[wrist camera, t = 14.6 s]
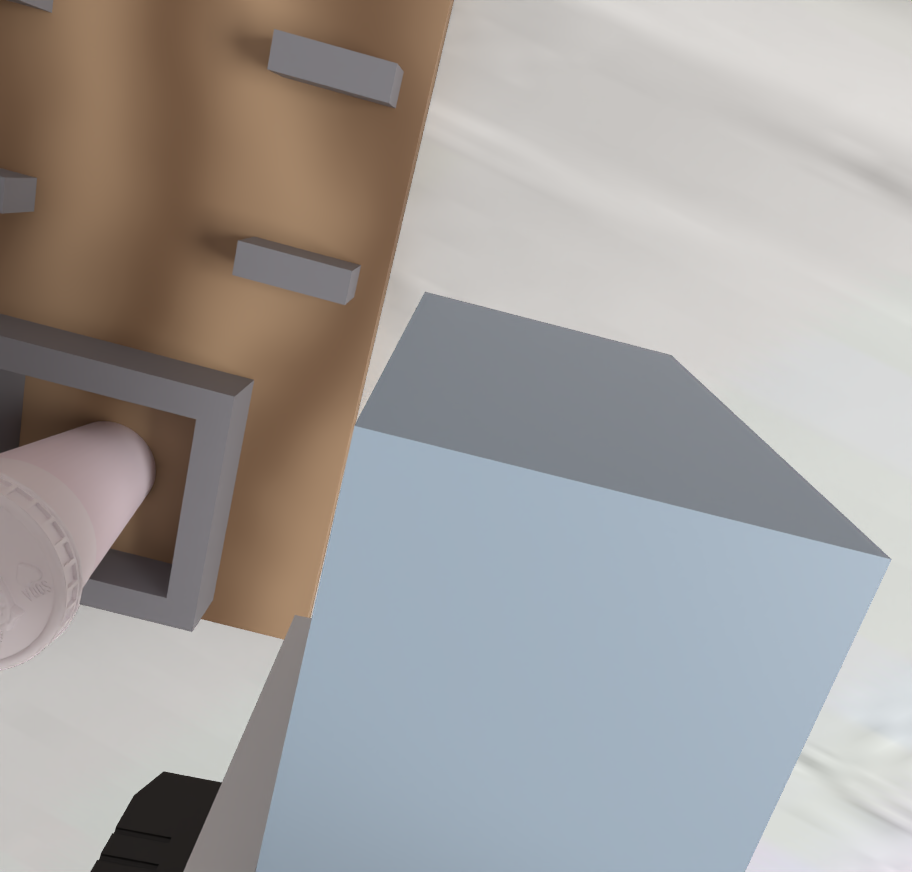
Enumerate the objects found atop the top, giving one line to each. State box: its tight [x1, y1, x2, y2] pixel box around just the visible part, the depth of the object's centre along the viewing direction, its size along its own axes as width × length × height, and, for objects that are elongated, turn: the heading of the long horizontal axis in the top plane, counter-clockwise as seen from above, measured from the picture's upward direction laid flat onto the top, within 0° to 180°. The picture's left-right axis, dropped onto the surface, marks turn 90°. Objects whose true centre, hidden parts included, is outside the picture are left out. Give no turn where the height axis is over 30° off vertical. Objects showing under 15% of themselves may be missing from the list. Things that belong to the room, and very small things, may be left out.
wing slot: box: [0, 0, 404, 305], centre depth 27 cm, size 16×8×2 cm, turn 75°
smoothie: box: [0, 421, 156, 670], centre depth 25 cm, size 6×6×14 cm
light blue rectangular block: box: [256, 292, 891, 872], centre depth 12 cm, size 14×4×8 cm, turn 166°
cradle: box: [0, 314, 254, 632], centre depth 31 cm, size 10×10×2 cm
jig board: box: [0, 0, 454, 639], centre depth 30 cm, size 18×28×1 cm, turn 165°
